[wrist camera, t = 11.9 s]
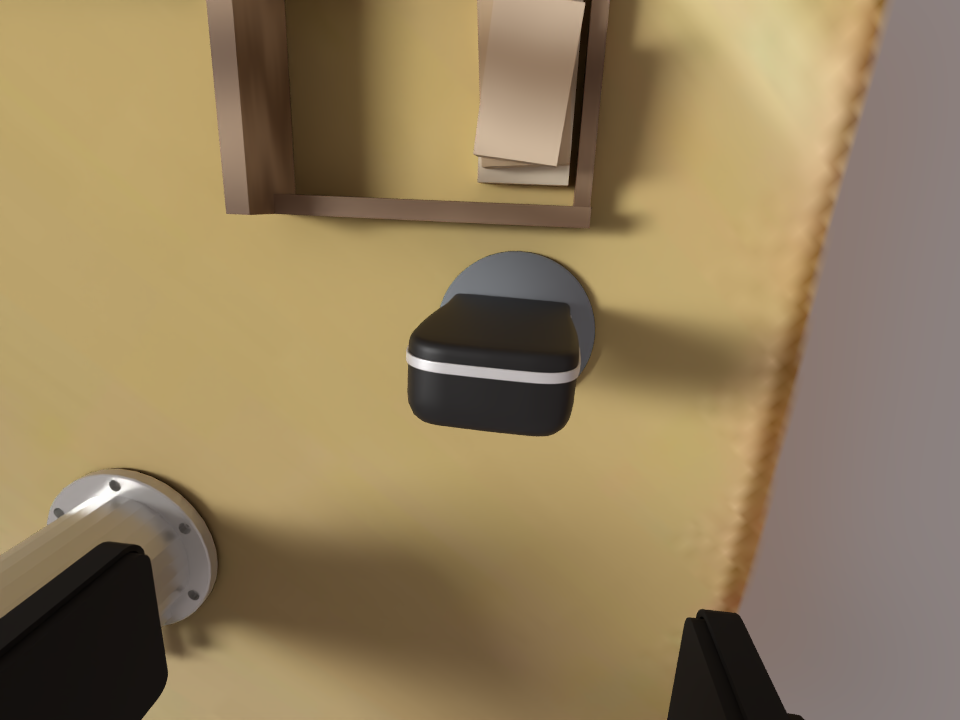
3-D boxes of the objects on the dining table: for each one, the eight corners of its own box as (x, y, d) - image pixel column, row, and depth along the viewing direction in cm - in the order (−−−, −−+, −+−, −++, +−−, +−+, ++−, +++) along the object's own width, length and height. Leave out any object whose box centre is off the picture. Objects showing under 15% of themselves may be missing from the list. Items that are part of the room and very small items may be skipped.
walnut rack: (586, 226, 29) (593, 230, 24) (276, 211, 31) (226, 213, 26) (613, -60, 25) (627, -121, 20) (258, -55, 27) (195, -110, 22)
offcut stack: (567, 186, 28) (570, 183, 24) (478, 183, 29) (465, 179, 25) (583, -11, 26) (589, -53, 21) (485, -10, 26) (471, -51, 22)
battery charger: (447, 355, 31) (391, 435, 21) (451, 290, 30) (393, 340, 19) (567, 367, 31) (574, 457, 20) (574, 301, 30) (587, 359, 19)
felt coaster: (586, 409, 32) (586, 411, 31) (437, 396, 33) (436, 398, 32) (602, 255, 29) (603, 256, 29) (440, 246, 30) (438, 247, 30)
